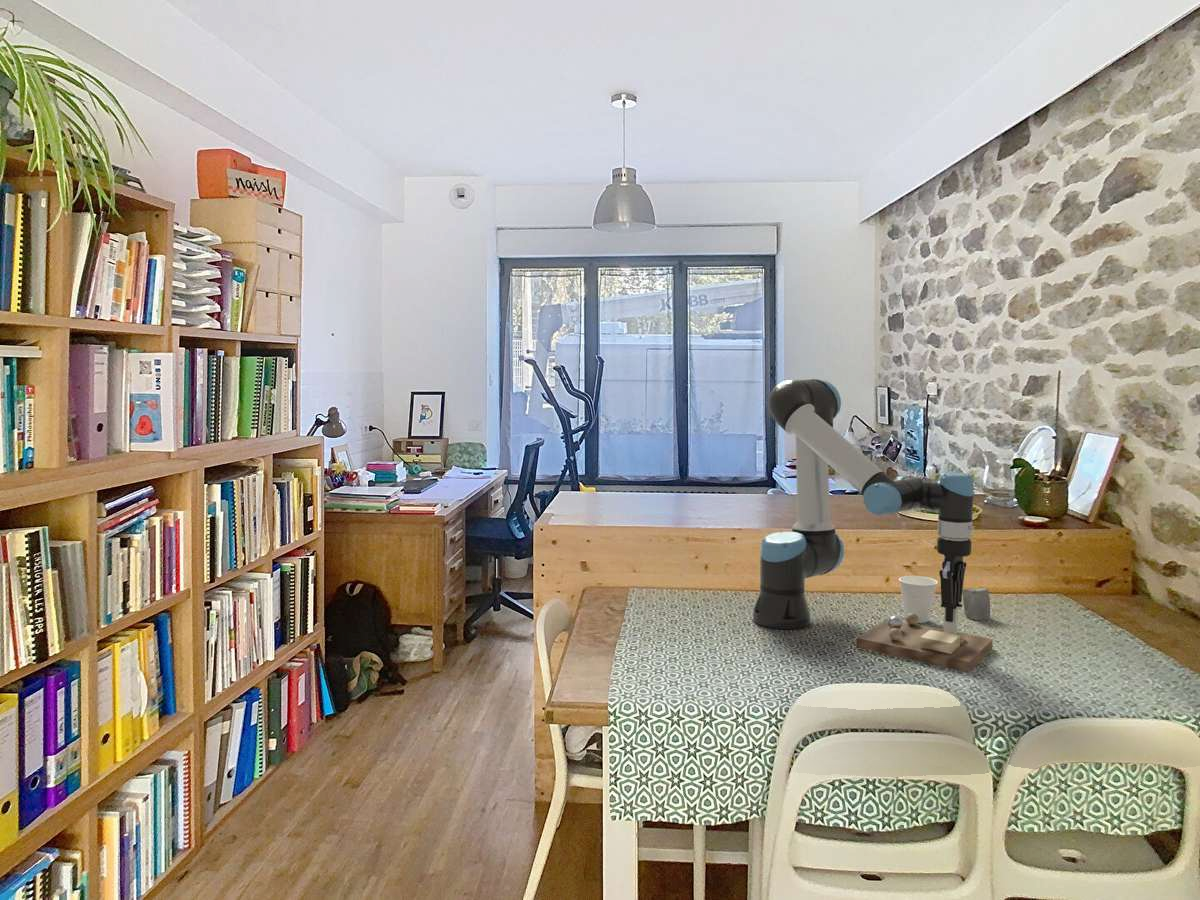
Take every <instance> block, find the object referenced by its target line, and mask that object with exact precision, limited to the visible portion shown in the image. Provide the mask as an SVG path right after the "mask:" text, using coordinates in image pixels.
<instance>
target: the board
mask: <svg viewBox="0 0 1200 900" xmlns="http://www.w3.org/2000/svg"><path fill="white" fill-rule="evenodd" d="M888 619H889V618H885V619H883V620H882V621H880V622H878V624H876V625H874V626H873V627H871V628H870V629H868V630H867V631H865V632H863V633H862V634H861V635H859V636H857V637H856V647H855V648H856V649H859V648H861V649H860V650H864V649H866V650H865V651H868V650H871V651H870V652H873V651H875V652H874V653H877V652H879V653H878V654H882V655H883V654H884V655H887V656H892V657H896V658H900V659H905V660H909V661H910V660H911V661H915V662H919V663H924V664H928V665H933V666H937V667H943V668H947V669H951V670H956V671H960V672H964V673H970V672H971V671H972V670H973V669H974V668H975V667H976V666H977V665H978V664H979V663H980V662H981V661H982V660H983V659H984V658H985V657H986V656H987V655H988V654H989V653H990V652H991V651H992V650H993V638H989V637H983V636H978V635H973V634H969V633H968V634H967V633H964V632H959V631H957V634H956V635H959V636H960V646H959V647H958V648H957V649H956V650H955V651H954V652H953V653H951V654H949V653H944V652H939V651H935V650H930V649H925V648H920V637H921V636H922V635H924V634H925V633H926V632H928V631H929V630H934V631H939V632H944V628H943V629H942V628H937V627H932V626H928V625H927V626H926V625H921V624H918V623H917V624H915V625H910V624H908V623H907V621H906V622H905V621H902V627H901V628H900V629H899V630H900V631H901V632H902V638H901V639H900V640H898V641H894V640H892V639H891V638H890V636H889V632H890V630H891V629H890V628H889V626H888Z"/></svg>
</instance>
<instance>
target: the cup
mask: <svg viewBox="0 0 1200 900" xmlns="http://www.w3.org/2000/svg"><path fill="white" fill-rule="evenodd" d="M898 581H899V585H900V594H901V600H902V601H901V602H902V606H903V608H902V609H903V615H904V619H905V620H906V617H907V615H908V614H910V613H914V614H916V615H917V616H918V619H919V620H918V623H917V624H924V623H925V624H926V623H928V621H929V620H930V618H931V612H932V606H933V604H934V598H935V594H936V590H937V585H938V584H939V581H938V580H936V579H934V578H932V577H931V578H930V577H928V576H927V577H926V576H920V575H906V576H905V575H904V576H901V577H899V578H898Z"/></svg>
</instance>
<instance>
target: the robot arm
mask: <svg viewBox="0 0 1200 900" xmlns="http://www.w3.org/2000/svg"><path fill="white" fill-rule="evenodd" d="M767 402H768V403H767V404H768V411H769V413H770V416H771V418H772V419H773V420H774V421H775V423H776V424H777V425H778V426H779V427H780V428H782V430H783V431H785V432H786V434H789V435H795V464H796V467H795V468H796V503H797V504H796V506H797V507H796V508H797V520H796V522H794V524H793V525H792V527H791V529H792V531H782V532H780V531H779V532H778V531H776V532H773V533H770V534H768V535H766V536H764V537H763V539H762V540H761V545H760V551H759V552H760V553H759V554H760V555H759V556H760V570H759V571H760V573H759V575H760V576H759V577H760V578H759V579H760V582H759V585H760V586H759V594H758V595H757V599H756V603H755V605H754V607H753V609H752V610H753V612H752V621H754V623H756V624H757V625H759V626H762V627H765V628H766V627H767V628H771V629H777V630H797V629H798V630H799V629H803V628H806V627H808V626H809V625H810V624H811V612H810V610H809V605H808V603H807V602H808V601H807V599H806V596H805V587H806V585H805V584H806V579H808V578H812V577H816V576H822V575H826V574H828V573H831V572H832V571H834V570H836V569H837V568H838V567H839V566H840V564H841V563H842V561H843V558H844V555H845V547H844V546H845V545H844V542H843V540H842V539H841V538H840V536H839V534H837V533H836V526H835V525H834V523H832V522H831V520H830V493H829V492H830V490H829V489H830V487H829V486H830V485H829V484H830V483H829V481H830V480H829V479H830V478H829V467H831V468H832V469H833V470H834V471H835V472H837V474H839V475H840V476H841V477H842V478H843V479H844V481H846V482H847V483H849V484H850V485H851V486H852V487H853V488H854V489H855V490H856V491H858V492H859V493H860V494H861V495H862V499H863V504H864V505H865V508H866V509H867V511H868V512H869V513H872V514H873V515H877V516H883V515H884V516H885V515H893V514H896V513H899V512H906V511H911V510H914V509H921V510H930V511H938V512H937V514H938V519H937V535H938V536H939V537H938V538H937V541H936V543H937V544H936V545H937V546H936V551H937V553H938V554H941V555H943V556H944V560H943V561H942V565H941V567H942V569H939V571H938V572H939V580H940V599H941V604H940V607H941V608H944V613H943V630H944V633H949V634H954V635H956V634H957V632H958V620H959V619H958V617H959V608H963V604H962V602H963V590H964V583H965V582H964V581H965V572H966V568H967V562H966V561H964V557H968V556H971V554H972V540H971V539H970V538H972V534H973V533H972V532H973V531H974V530H975V526H974V525H973V513H974V512H973V511H974V499H975V498H974V496H975V489H974V488H975V487H974V486H975V485H974V483H975V482H974V481H975V480H974V476H973V475H971V474H970V473H966V472H955V471H954V472H948V471H947V472H943V473H941V474H940V476H939V479H933V478H925V477H917V476H916V477H915V476H913V475H909V476H908V475H907V476H905V475H899V476H897V477H895V479H892V477H890V476H889V475H888V474H886V473H885V472H884V471H883V470H882V469H881V468H880V467H879V466H877V465H876V464H875V463H874V462H872V461H871V459H869V458H868V457H867V456H866V455H864V453H862V452H861V451H860V450H859V449H858V448H857V447H855V446H854V445H853V444H852V443H851V442H850V441H849V440H848V439H846V438H845V437H844V436H843V435H841V434H840V433H839V432H838V431H837V430H836V429H835V428H834V419H835V418H836V417H837V415H838V414H839V413H840V411H841V407H842V400H841V396H840V393H839V390H838V389H837V388H836V387H835V386H834V385H833V384H832V383H831V382H829V381H827V380H823V379H818V378H816V379H815V378H812V379H787V380H784V381H781V382H779V383H778V384H777V385H775V386H774V387H773V389H772V390H771V391H770V394H769V396H768V400H767Z"/></svg>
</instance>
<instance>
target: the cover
mask: <svg viewBox="0 0 1200 900" xmlns="http://www.w3.org/2000/svg"><path fill="white" fill-rule="evenodd" d="M959 646H960V636H959V635H954V634H949V633H944V632H939V631H934V630H929V631H928V632H926V633H925V634H924V635H922V636H921V637H920V648H925V649H930V650H935V651H939V652H944V653H949V654H951V653H953V652H954V651H955V650H956V649H957V648H958V647H959Z"/></svg>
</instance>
